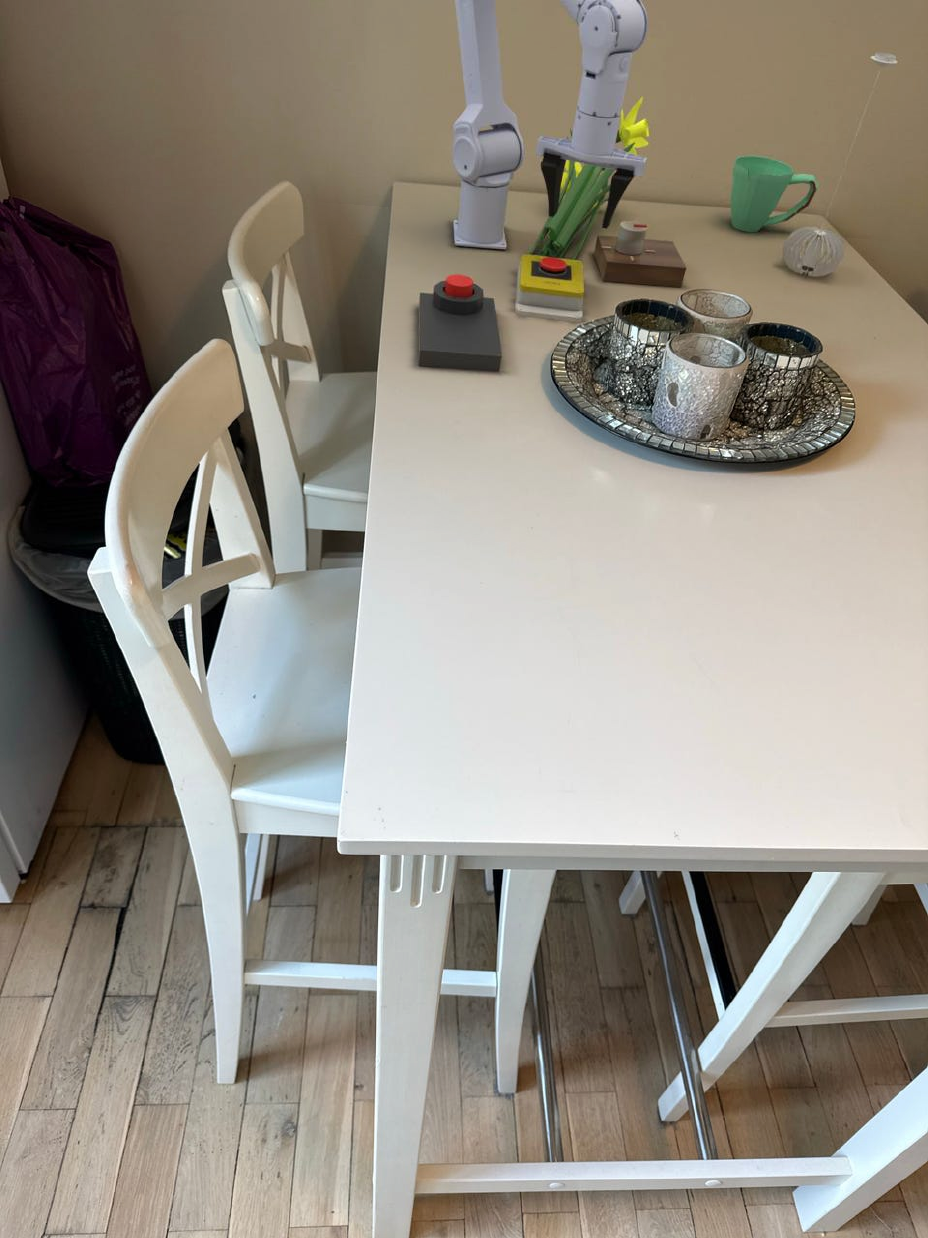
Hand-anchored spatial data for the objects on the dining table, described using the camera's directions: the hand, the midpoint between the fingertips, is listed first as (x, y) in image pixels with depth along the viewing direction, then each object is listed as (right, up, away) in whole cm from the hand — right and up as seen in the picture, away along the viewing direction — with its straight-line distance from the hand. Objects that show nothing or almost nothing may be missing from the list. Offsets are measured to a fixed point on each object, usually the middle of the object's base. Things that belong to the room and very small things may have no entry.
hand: (579, 220), depth 122 cm
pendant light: (+39, +1, +20) cm, 44 cm away
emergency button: (-4, -9, +4) cm, 11 cm away
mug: (+36, +13, +32) cm, 49 cm away
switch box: (-17, -19, -8) cm, 27 cm away
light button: (-17, -13, -7) cm, 22 cm away
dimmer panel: (+11, -2, +13) cm, 17 cm away
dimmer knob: (+9, 0, +11) cm, 14 cm away
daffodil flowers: (+3, +8, +22) cm, 24 cm away
